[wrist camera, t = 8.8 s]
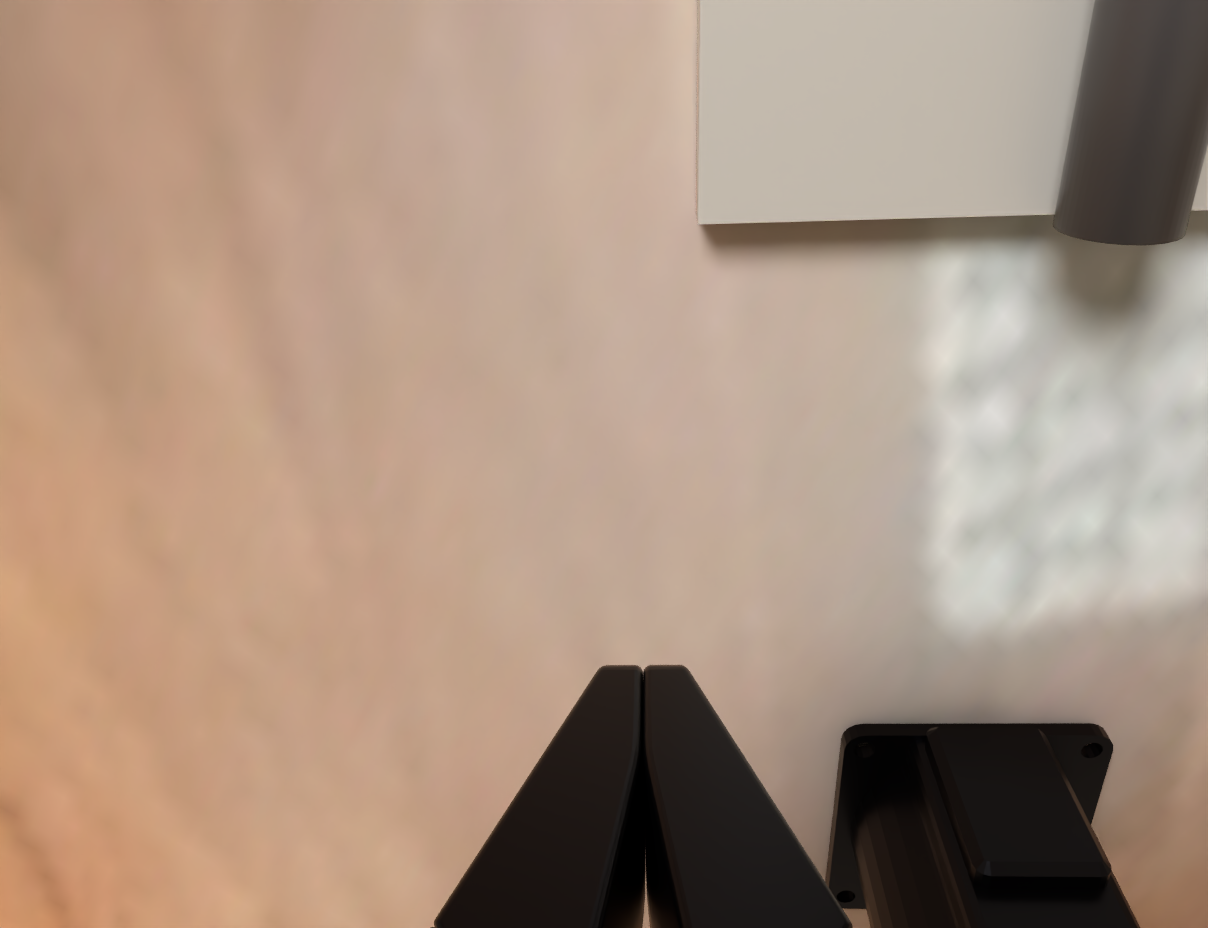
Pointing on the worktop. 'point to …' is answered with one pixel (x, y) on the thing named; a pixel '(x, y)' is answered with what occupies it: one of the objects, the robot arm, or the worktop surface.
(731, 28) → the board
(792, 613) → the worktop surface
